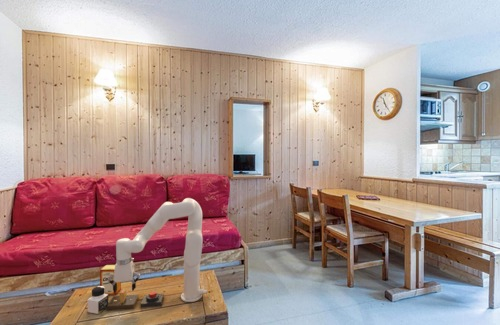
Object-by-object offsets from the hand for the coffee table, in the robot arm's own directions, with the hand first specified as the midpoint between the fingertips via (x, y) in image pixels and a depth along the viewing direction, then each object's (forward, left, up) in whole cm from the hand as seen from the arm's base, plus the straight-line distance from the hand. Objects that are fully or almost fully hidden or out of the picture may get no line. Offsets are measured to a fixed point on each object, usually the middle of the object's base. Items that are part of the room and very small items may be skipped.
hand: (124, 290), depth 142 cm
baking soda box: (+13, -15, -8) cm, 21 cm away
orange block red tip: (+1, 0, -5) cm, 6 cm away
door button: (-15, 0, -4) cm, 16 cm away
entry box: (-15, 0, -8) cm, 17 cm away
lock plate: (+1, 0, -8) cm, 8 cm away
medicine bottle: (+13, +3, -8) cm, 15 cm away
